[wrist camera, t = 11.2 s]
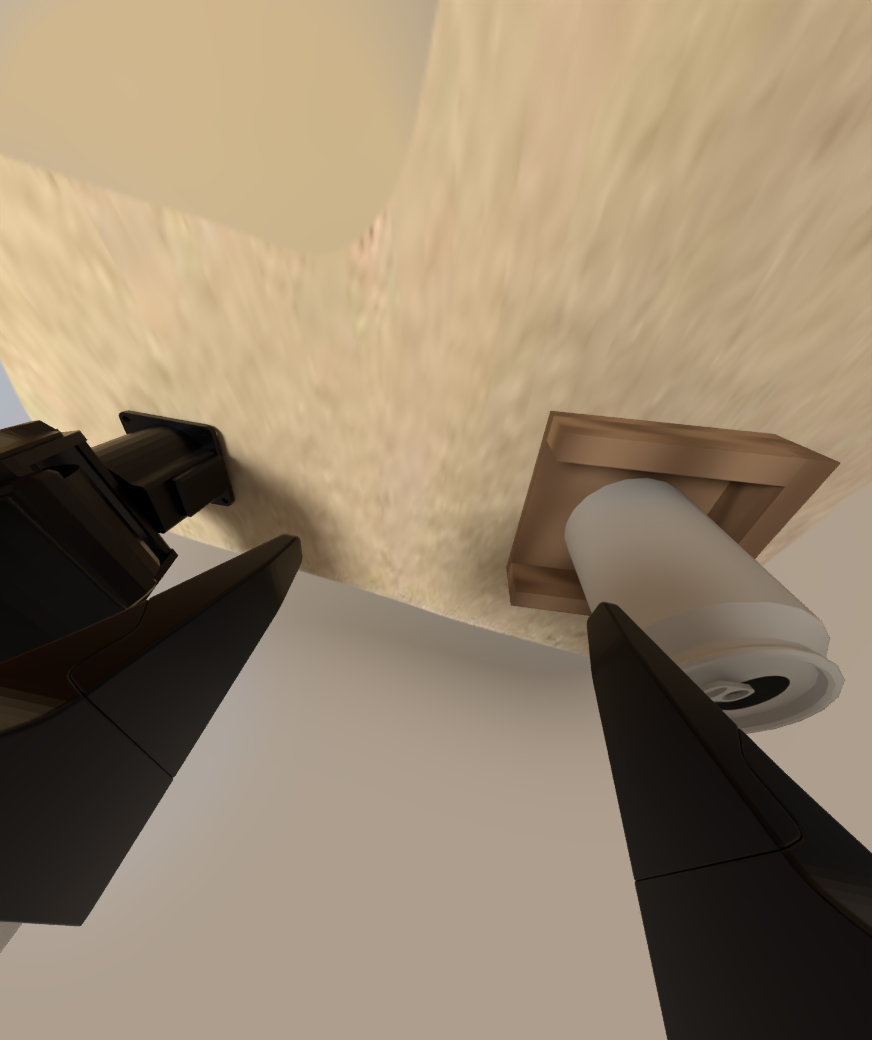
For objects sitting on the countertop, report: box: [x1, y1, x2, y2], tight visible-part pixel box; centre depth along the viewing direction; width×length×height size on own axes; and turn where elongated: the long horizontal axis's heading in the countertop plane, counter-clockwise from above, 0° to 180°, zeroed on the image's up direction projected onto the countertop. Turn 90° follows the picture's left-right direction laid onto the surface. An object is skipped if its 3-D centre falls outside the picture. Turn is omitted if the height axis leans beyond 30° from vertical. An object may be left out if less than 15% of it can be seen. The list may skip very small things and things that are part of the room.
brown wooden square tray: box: [507, 411, 840, 616], centre depth 20 cm, size 13×13×4 cm
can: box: [564, 478, 845, 734], centre depth 16 cm, size 8×8×12 cm
